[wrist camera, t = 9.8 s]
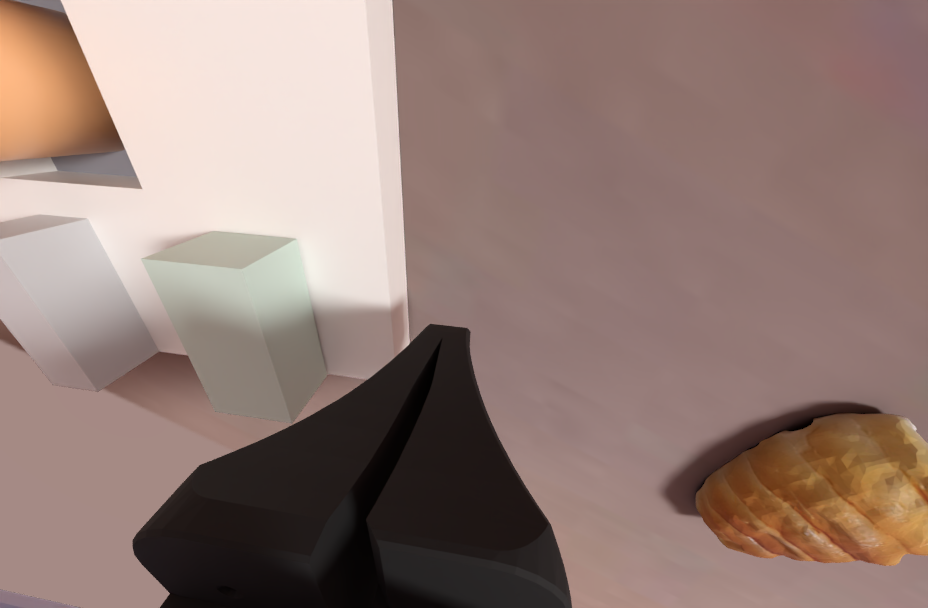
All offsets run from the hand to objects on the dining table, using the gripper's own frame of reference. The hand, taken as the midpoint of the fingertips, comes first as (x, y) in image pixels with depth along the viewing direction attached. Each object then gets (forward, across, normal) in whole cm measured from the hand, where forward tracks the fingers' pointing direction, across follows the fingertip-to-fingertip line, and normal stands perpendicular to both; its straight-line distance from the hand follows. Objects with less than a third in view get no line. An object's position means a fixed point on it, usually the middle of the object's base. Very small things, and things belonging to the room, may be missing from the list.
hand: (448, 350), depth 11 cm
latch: (+1, +7, 0) cm, 7 cm away
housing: (+3, +10, -4) cm, 12 cm away
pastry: (+4, -17, +7) cm, 19 cm away
